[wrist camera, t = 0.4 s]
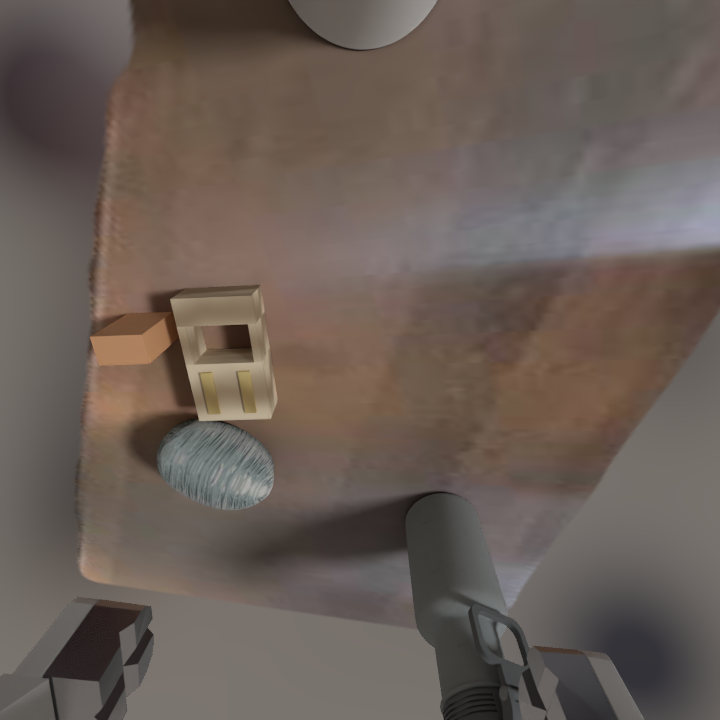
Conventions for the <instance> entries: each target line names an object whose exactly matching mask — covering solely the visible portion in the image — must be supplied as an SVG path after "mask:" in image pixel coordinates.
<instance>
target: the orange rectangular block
mask: <svg viewBox="0 0 720 720" xmlns="http://www.w3.org/2000/svg"><path fill="white" fill-rule="evenodd" d="M178 338H179V335H178V331H177V326H176V322H175V318H174V314H173V312H152V313H128V314H126V315H125V316H123V317H121V318H120V319H118V320H116V321H115V322H113V323H111V324H110V325H108V326H107V327H105V328H103V329H102V330H100V331H98V332H97V333H95V334H93V335H92V336H90V339H91V342H92V345H93V348H94V351H95V354H96V357H97V360H98V363H99V366H102V365H129V364H150V363H151V362H152V361H154V360H155V359H156V358H157V357H158V356H159V355H160V354H161V353H162V352H163V351H165V350H166V349H167V348H168V347H169V346H170V345H171V344H172V343H173V342H175V341H176V340H177V339H178Z"/></svg>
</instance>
